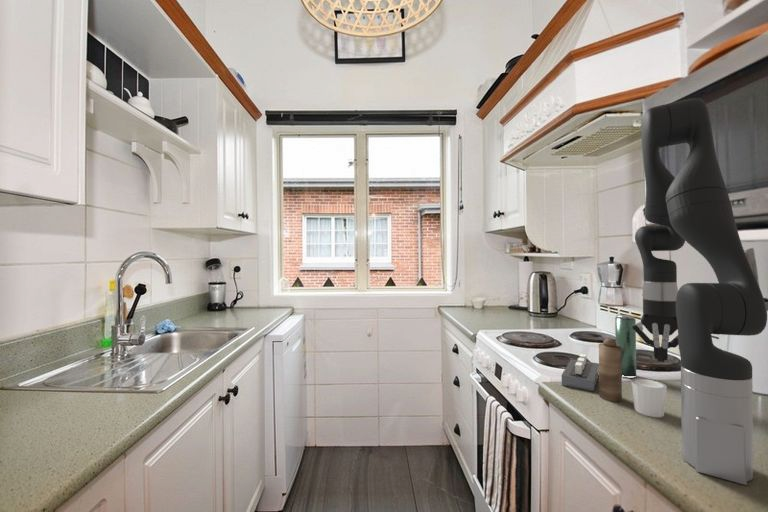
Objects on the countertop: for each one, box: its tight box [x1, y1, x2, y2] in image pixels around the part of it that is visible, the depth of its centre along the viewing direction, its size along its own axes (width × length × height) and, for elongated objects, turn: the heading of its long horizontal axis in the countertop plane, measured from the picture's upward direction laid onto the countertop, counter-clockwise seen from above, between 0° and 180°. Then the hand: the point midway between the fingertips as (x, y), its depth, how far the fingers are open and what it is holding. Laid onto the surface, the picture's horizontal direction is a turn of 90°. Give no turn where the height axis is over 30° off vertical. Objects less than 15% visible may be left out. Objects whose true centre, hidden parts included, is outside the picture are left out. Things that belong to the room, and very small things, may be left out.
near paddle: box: [575, 362, 583, 374], centre depth 99 cm, size 3×2×3 cm, turn 143°
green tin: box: [614, 314, 637, 377], centre depth 105 cm, size 5×5×19 cm
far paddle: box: [579, 353, 588, 365], centre depth 107 cm, size 3×2×3 cm, turn 143°
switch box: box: [561, 358, 599, 392], centre depth 103 cm, size 18×8×3 cm, turn 143°
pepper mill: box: [598, 337, 623, 403], centre depth 89 cm, size 5×5×16 cm
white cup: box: [630, 378, 668, 418], centre depth 81 cm, size 7×7×7 cm
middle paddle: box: [576, 357, 585, 370], centre depth 103 cm, size 3×2×3 cm, turn 143°
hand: (660, 361), depth 91 cm, fingers closed
